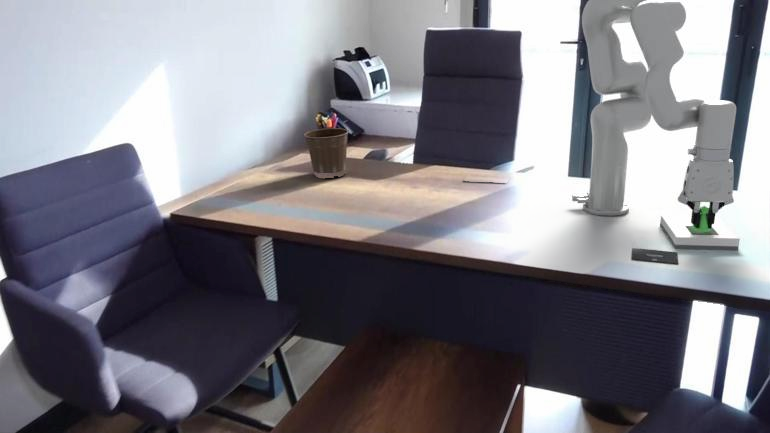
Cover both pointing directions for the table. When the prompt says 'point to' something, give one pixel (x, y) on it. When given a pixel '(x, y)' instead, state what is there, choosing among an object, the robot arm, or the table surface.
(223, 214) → the table surface
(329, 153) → the plant pot
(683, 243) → the white square slotted base
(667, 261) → the solid state drive
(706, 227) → the game piece
